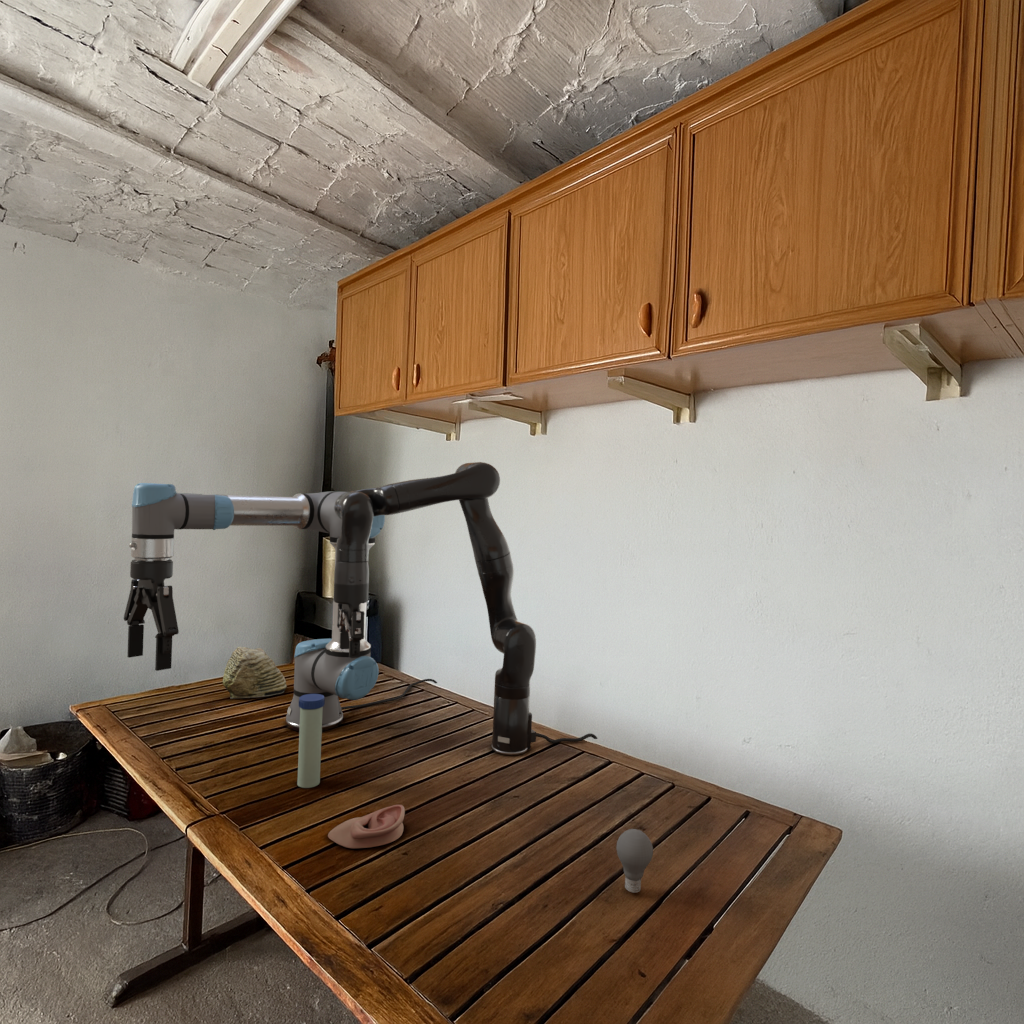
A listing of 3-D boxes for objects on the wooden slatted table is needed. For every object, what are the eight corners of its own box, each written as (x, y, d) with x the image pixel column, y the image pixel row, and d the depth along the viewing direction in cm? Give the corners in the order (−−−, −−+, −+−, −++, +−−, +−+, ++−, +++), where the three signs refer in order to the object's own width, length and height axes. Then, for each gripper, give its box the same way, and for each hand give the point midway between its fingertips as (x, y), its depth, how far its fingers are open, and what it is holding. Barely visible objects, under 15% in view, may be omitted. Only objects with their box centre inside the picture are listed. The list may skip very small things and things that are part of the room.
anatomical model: (320, 822, 115) (348, 794, 127) (319, 843, 116) (348, 813, 127) (388, 833, 113) (411, 803, 124) (387, 855, 113) (410, 823, 124)
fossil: (218, 695, 195) (220, 647, 195) (278, 685, 208) (279, 640, 207) (228, 703, 189) (230, 653, 188) (289, 692, 201) (290, 645, 201)
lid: (308, 711, 136) (309, 703, 136) (293, 705, 139) (293, 697, 139) (329, 705, 140) (329, 697, 140) (314, 699, 143) (314, 692, 143)
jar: (306, 790, 136) (309, 704, 136) (292, 783, 139) (296, 699, 139) (324, 782, 140) (327, 699, 140) (310, 776, 143) (314, 694, 143)
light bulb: (610, 879, 108) (613, 822, 108) (644, 879, 109) (647, 822, 109) (619, 902, 102) (622, 840, 102) (655, 901, 103) (658, 840, 103)
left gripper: (108, 554, 134) (104, 654, 134) (159, 565, 118) (155, 678, 119) (146, 552, 140) (143, 648, 140) (199, 563, 124) (195, 671, 124)
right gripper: (377, 584, 137) (374, 659, 137) (359, 576, 149) (357, 644, 150) (342, 586, 133) (340, 662, 134) (327, 577, 146) (325, 647, 146)
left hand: (148, 662), depth 129 cm, fingers open, 13 cm apart
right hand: (349, 653), depth 142 cm, fingers open, 8 cm apart
